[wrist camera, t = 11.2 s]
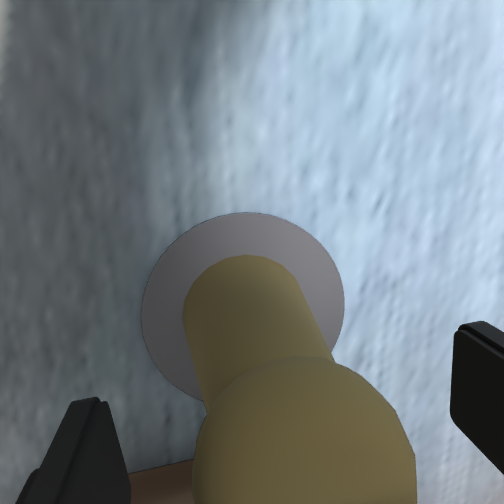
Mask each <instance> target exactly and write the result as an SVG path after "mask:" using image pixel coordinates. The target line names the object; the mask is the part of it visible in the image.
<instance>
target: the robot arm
mask: <svg viewBox="0 0 504 504" xmlns="http://www.w3.org/2000/svg"><path fill="white" fill-rule="evenodd" d="M450 415H451V418H452V420H453V422H454V423H455V425H456V426H457V427H458V428H459V429H460V430H461V431H462V432H463V433H464V434H465V435H466V436H467V437H468V438H469V439H470V440H471V441H472V442H473V443H474V444H475V446H476V447H477V448H478V449H479V450H480V451H481V452H482V453H483V454H484V455H485V456H486V457H487V458H488V459H489V460H490V461H491V462H492V463H493V464H494V465H495V466H496V467H497V468H498V469H499V470H500V471H501V472H502V474H503V475H504V332H502V331H501V330H499V329H497V328H495V327H494V326H492V325H490V324H489V323H487V322H484V321H477V322H472V323H467V324H462V325H461V326H459V328H458V331H456V332H455V334H454V342H453V361H452V379H451V397H450ZM15 504H131V484H130V480H129V477H128V473H127V470H126V466H125V462H124V459H123V455H122V451H121V448H120V444H119V440H118V437H117V433H116V430H115V426H114V422H113V419H112V415H111V411H110V408H109V405H108V403H107V401H103V402H101V401H100V399H99V398H98V397H92V398H87V399H82V400H77V401H73V402H71V404H70V405H69V407H68V410H67V412H66V414H65V416H64V418H63V420H62V422H61V424H60V426H59V429H58V431H57V433H56V435H55V437H54V439H53V441H52V443H51V445H50V448H49V450H48V452H47V454H46V456H45V458H44V460H43V462H42V464H41V466H40V468H39V469H36V470H34V471H33V472H32V473H31V475H30V476H29V478H28V479H27V481H26V483H25V485H24V487H23V489H22V491H21V493H20V495H19V497H18V499H17V501H16V503H15Z"/></svg>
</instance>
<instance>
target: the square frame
mask: <svg viewBox="0 0 504 504" xmlns="http://www.w3.org/2000/svg"><path fill="white" fill-rule="evenodd" d="M193 460H194V459H193ZM193 460H189V461H184V462H180V463H176V464H171V465H167V466H163V467H158V468H154V469H150V470H145V471H141V472H137V473H132V474H128V477H129V480H130V484H131V504H194V500H193V495H192V467H193Z"/></svg>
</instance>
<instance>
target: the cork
mask: <svg viewBox="0 0 504 504" xmlns="http://www.w3.org/2000/svg"><path fill="white" fill-rule="evenodd" d="M182 320H183V325H184V329H185V334H186V338H187V342H188V346H189V349H190V353H191V357H192V361H193V364H194V368H195V372H196V375H197V379H198V383H199V386H200V390H201V394H202V397H203V401H204V405H205V408H206V412H207V416H206V417H205V419H204V421H203V423H202V426H201V429H200V432H199V435H198V438H197V441H196V448H195V454H194V460H193V467H192V495H193V500H194V504H417V479H416V462H415V454H414V452H413V449H412V447H411V445H410V443H409V440H408V438H407V436H406V433H405V431H404V429H403V427H402V425H401V422H400V420H399V418H398V416H397V413H396V411H395V410H394V408H393V407H392V406H391V405H390V404H389V403H388V402H387V400H386V399H385V398H384V397H383V396H382V395H381V394H380V393H379V392H378V391H377V390H376V389H375V388H374V387H373V386H372V385H371V384H370V383H369V382H367V381H366V380H365V379H364V378H363V377H362V376H361V375H359V374H357V373H356V372H354V371H352V370H351V369H349V368H347V367H345V366H342V365H340V364H337V363H335V361H334V358H333V356H332V354H331V352H330V350H329V348H328V346H327V344H326V341H325V339H324V337H323V335H322V333H321V331H320V329H319V327H318V324H317V322H316V320H315V318H314V316H313V314H312V312H311V309H310V307H309V305H308V303H307V301H306V299H305V297H304V295H303V292H302V290H301V288H300V286H299V284H298V282H297V280H296V278H295V277H294V276H293V275H292V274H291V273H290V272H289V271H288V270H287V269H286V268H285V267H284V266H283V265H281V264H279V263H277V262H275V261H273V260H271V259H269V258H267V257H262V256H255V255H247V254H245V255H240V256H234V257H229V258H225V259H223V260H221V261H219V262H217V263H216V264H214V265H212V266H210V267H208V268H207V269H206V270H205V271H204V272H203V273H202V274H201V275H200V276H199V277H198V278H197V279H196V280H195V281H194V282H193V284H192V286H191V288H190V290H189V292H188V294H187V296H186V298H185V301H184V308H183V316H182Z"/></svg>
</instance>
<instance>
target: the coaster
mask: <svg viewBox="0 0 504 504" xmlns="http://www.w3.org/2000/svg"><path fill="white" fill-rule="evenodd" d="M245 254H247V255H255V256H262V257H267V258H269V259H271V260H273V261H275V262H277V263H279V264H281V265H283V266H284V267H285V268H286V269H287V270H288V271H289V272H290V273H291V274H292V275H293V276H294V277H295V278H296V280H297V282H298V284H299V286H300V288H301V290H302V292H303V295H304V297H305V299H306V301H307V303H308V305H309V307H310V309H311V312H312V314H313V316H314V318H315V320H316V322H317V324H318V327H319V329H320V331H321V333H322V335H323V337H324V339H325V341H326V344H327V346H328V348H329V350H330V352H332V350H333V348H334V346H335V344H336V342H337V339H338V337H339V334H340V331H341V327H342V323H343V317H344V291H343V285H342V282H341V278H340V274H339V272H338V270H337V267H336V265H335V263H334V261H333V260H332V258H331V257H330V255H329V253H328V252H327V251H326V250H325V248H324V247H323V246H322V245H321V243H319V242H318V241H317V240H316V239H315V238H314V237H313V236H312V235H311V234H309V233H308V232H306V231H305V230H303V229H302V228H300V227H298V226H297V225H295V224H293V223H291V222H289V221H287V220H284V219H281V218H278V217H275V216H272V215H267V214H261V213H248V212H245V213H232V214H228V215H223V216H218V217H215V218H213V219H210V220H207V221H204V222H203V223H201V224H199V225H197V226H195V227H193V228H191V229H190V230H188V231H187V232H185V233H184V234H182V235H181V236H180V237H179V238H178V239H177V240H175V241H174V242H173V243H172V244H171V245H170V246H169V247H168V249H167V250H166V251H165V252H164V253H163V254H162V256H161V257H160V259H159V260H158V262H157V263H156V265H155V267H154V269H153V271H152V273H151V275H150V277H149V280H148V282H147V285H146V289H145V292H144V295H143V301H142V308H141V325H142V332H143V337H144V341H145V344H146V347H147V350H148V352H149V354H150V356H151V358H152V360H153V362H154V363H155V365H156V366H157V368H158V369H159V371H160V372H161V373H162V374H163V375H164V376H165V377H166V379H167V380H169V381H170V382H171V383H172V384H173V385H174V386H176V387H177V388H178V389H180V390H181V391H183V392H184V393H186V394H188V395H190V396H192V397H194V398H196V399H199V400H202V401H203V397H202V394H201V390H200V386H199V383H198V379H197V375H196V372H195V368H194V364H193V361H192V357H191V353H190V349H189V346H188V342H187V338H186V334H185V329H184V325H183V320H182V316H183V308H184V301H185V298H186V296H187V294H188V292H189V290H190V288H191V286H192V284H193V282H194V281H195V280H196V279H197V278H198V277H199V276H200V275H201V274H202V273H203V272H204V271H205V270H206V269H207V268H208V267H210V266H212V265H214V264H216V263H217V262H219V261H221V260H223V259H225V258H229V257H234V256H240V255H245Z"/></svg>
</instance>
